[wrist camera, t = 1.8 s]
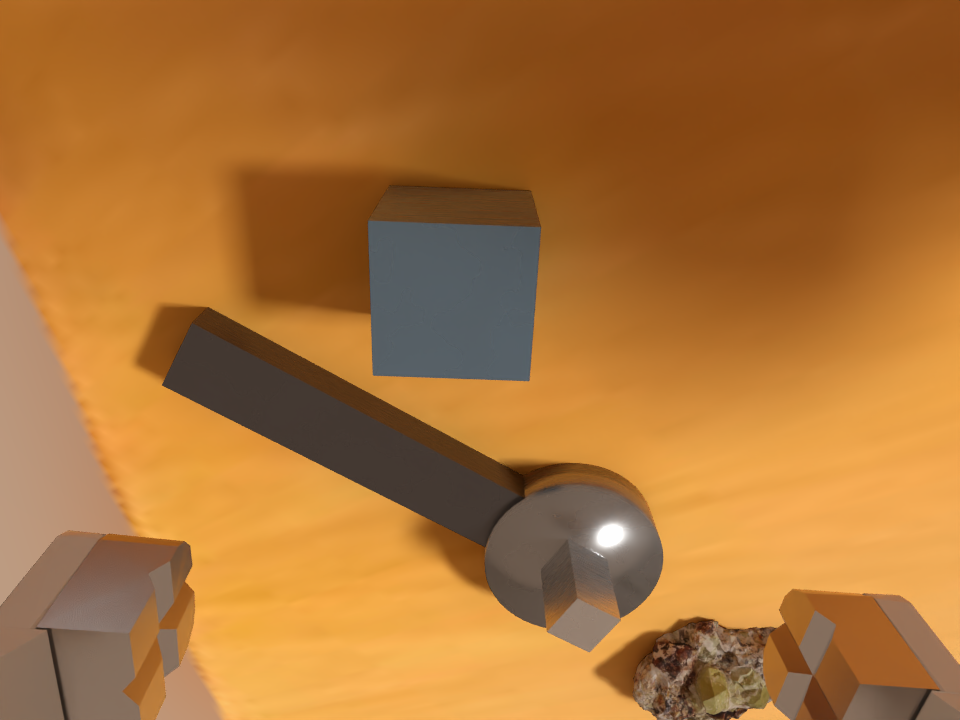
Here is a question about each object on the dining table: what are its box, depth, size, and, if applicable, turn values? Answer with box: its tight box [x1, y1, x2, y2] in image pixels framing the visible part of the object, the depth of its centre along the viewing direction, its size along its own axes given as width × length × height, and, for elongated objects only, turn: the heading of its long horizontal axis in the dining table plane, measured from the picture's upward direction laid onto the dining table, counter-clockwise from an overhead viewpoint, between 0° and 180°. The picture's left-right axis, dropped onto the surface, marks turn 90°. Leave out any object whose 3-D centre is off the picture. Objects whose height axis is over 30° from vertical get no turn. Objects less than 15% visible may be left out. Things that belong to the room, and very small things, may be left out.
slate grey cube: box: [368, 185, 541, 381], centre depth 28 cm, size 6×6×6 cm
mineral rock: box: [633, 621, 777, 720], centre depth 41 cm, size 11×4×8 cm
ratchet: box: [162, 307, 663, 652], centre depth 33 cm, size 26×9×6 cm, turn 58°
